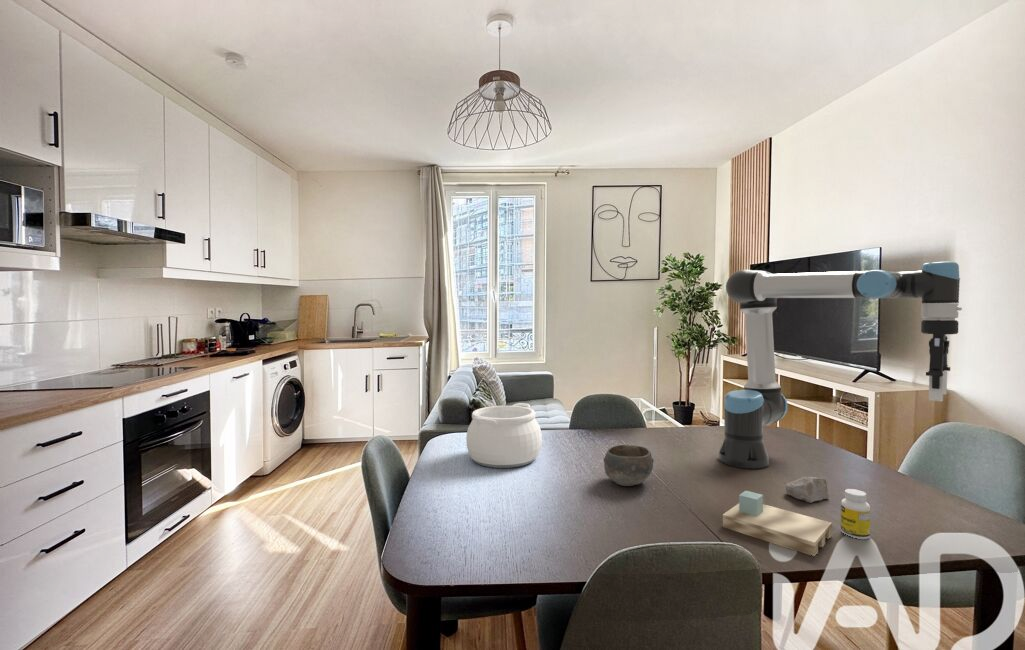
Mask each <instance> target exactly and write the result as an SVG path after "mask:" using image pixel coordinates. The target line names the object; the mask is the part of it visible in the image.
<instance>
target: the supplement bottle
mask: <svg viewBox="0 0 1025 650" xmlns="http://www.w3.org/2000/svg"><path fill="white" fill-rule="evenodd" d="M840 532H842V534H843V533H844V534H843V535H845V534H846V535H845V536H847V535H848V536H847V537H849V536H851V537H850V538H852V537H853V538H852V539H855V538H857V540H867V539H870V538H871V505H870V504H869V503H868V502H867V493H866V492H865V491H863V490H859V489H854V488H846V489H845V490H844V498H842V500H841V504H840Z"/></svg>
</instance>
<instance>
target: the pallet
mask: <svg viewBox="0 0 1025 650" xmlns="http://www.w3.org/2000/svg"><path fill="white" fill-rule="evenodd" d="M722 528H724V529H728V530H730V531H733V532H736V533H741V534H743V535H746V536H749V537H753V538H755V539H758V540H762V541H765V542H768V543H771V544H774V545H777V546H781V547H784V548H787V549H790V550H792V549H793V551H795V550H796V552H798V551H799V553H802V554H805V555H808V556H811V555H812V556H811V557H814V556H815V555H816V554H817V555H818V553H819V548H821V547H822V548H824V546H825V545H826V540H830V539H829V538H831V537H832V536H833V534H832V533H833V523H832V522H831V521H826V520H823V519H819V518H816V517H812V516H808V515H805V514H801V513H797V512H794V511H790V510H786V509H783V508H778V507H776V506H771V505H767V504H764V503H763V512H762V513H761V514H759V515H758V516H753V515H750V514H746V513H743V512H739V502H738V503H737V504H736V505H734V506H732V508H730V509H729V510H727V511H726V512H724V513H722ZM826 538H827V539H826ZM818 546H819V547H818ZM817 555H816V556H817ZM816 556H815V557H816Z"/></svg>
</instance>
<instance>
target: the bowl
mask: <svg viewBox="0 0 1025 650" xmlns="http://www.w3.org/2000/svg"><path fill="white" fill-rule="evenodd" d="M652 456H653V455H652V453H651V451H650V450H649V449H648V448H647V447H645V446H640V445H629V444H619V445H615V446H611V447H610V448H609V449H608V450H607V451H606V453H605V456H604V458H603V463H604V465H603V467H604V472H605V474H606V476H607V478H609V479H610V480H611V481H612V482H614V483H615V484H617V485H618V486H619V485H620V486H623V487H632V486H637V485H640V484H642V483H643V482H645V481H646V480H647V479H648V478H649V477H650V476H651V474H652V472H653V469H654V460H655V459H654V458H653V457H652Z"/></svg>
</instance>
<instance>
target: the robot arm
mask: <svg viewBox="0 0 1025 650" xmlns="http://www.w3.org/2000/svg"><path fill="white" fill-rule="evenodd" d="M960 280H961V277H960V265H959V263H957V262H955V261H935V262H926V263H923V264H922V268H921V269H920V270H914V271H913V270H912V271H910V270H909V271H890V270H889V271H888V270H884V269H871V270H860V271H858V270H856V271H855V270H853V271H852V270H851V271H826V272H825V271H824V272H820V271H819V272H818V271H817V272H797V273H795V272H793V273H791V272H790V273H789V272H788V273H771V272H769V271H767V270H757V269H755V270H753V269H742V270H741V269H740V270H737V271H735V272H733V273H732V274H731V275H730V276H729V277H728V279H727V281H726V283H725V290H726V291H725V292H726V294H727V296H728V297H729V299H730V300H732V301H733V302H735V303H738V304H739V310H740V311H741V312H742V313H743V314H744V322H745V339H746V340H745V343H746V360H747V361H746V362H747V363H746V364H747V378H748V379H747V382H746V383H745V384H744V385H743V389H737V390H736V389H735V390H731V391H729V392H727V393H726V394H725V396H724V402H723V408H724V411H723V413H724V414H723V415H724V416H723V417H724V420H723V421H724V423H723V426H724V430H723V431H724V432H723V433H724V435H723V436H724V438H723V439H722V443H721V445H720V446H721V447H720V448H719V451H718V460H719V461H720V462H721V463H723V464H725V465H728V466H731V467H736V468H741V469H754V470H756V469H763V468H767V467H769V466H770V464H769V463H770V461H769V460H770V459H769V455H768V451H767V449H766V446H765V443H764V426H769V425H773V424H775V423H777V422H779V421H780V420H782V419H783V418H784V417H785V416H786V414H787V412H788V407H789V406H788V401H787V399H786V397H785V396H784V394H783V393H782V387H781V385H780V384H779V383H778V382H777V380H776V363H775V343H774V342H775V341H774V340H775V339H774V325H773V324H774V323H773V321H774V320H773V313H774V312H775V311H776V310H777V308H778V306H777V300H778V299H879V300H880V299H881V300H883V299H884V300H887V299H913V298H915V299H917V298H918V299H919V298H921V305H920V306H921V307H920V309H921V310H920V316H921V317H920V318H921V319H922V321H921V322H920V332H921V333H922V334H926V335H932V337H931V338H930V340H928V347H929V350H928V351H929V365H928V369H929V370H928V371H926V372H925V376H927V377H929V378H928V401H929V402H930V401H932V402H943V401H944V395H947V392H948V391H947V390H948V372H950V371H951V366H949V365H948V354H949V347H950V340H948V336H947V335H957V334H959V321H958V320H956V319H958V318H959V311H962V310H963V308H962V307H961V306H959V303H960V300H959V299H960V282H961V281H960Z"/></svg>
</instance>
